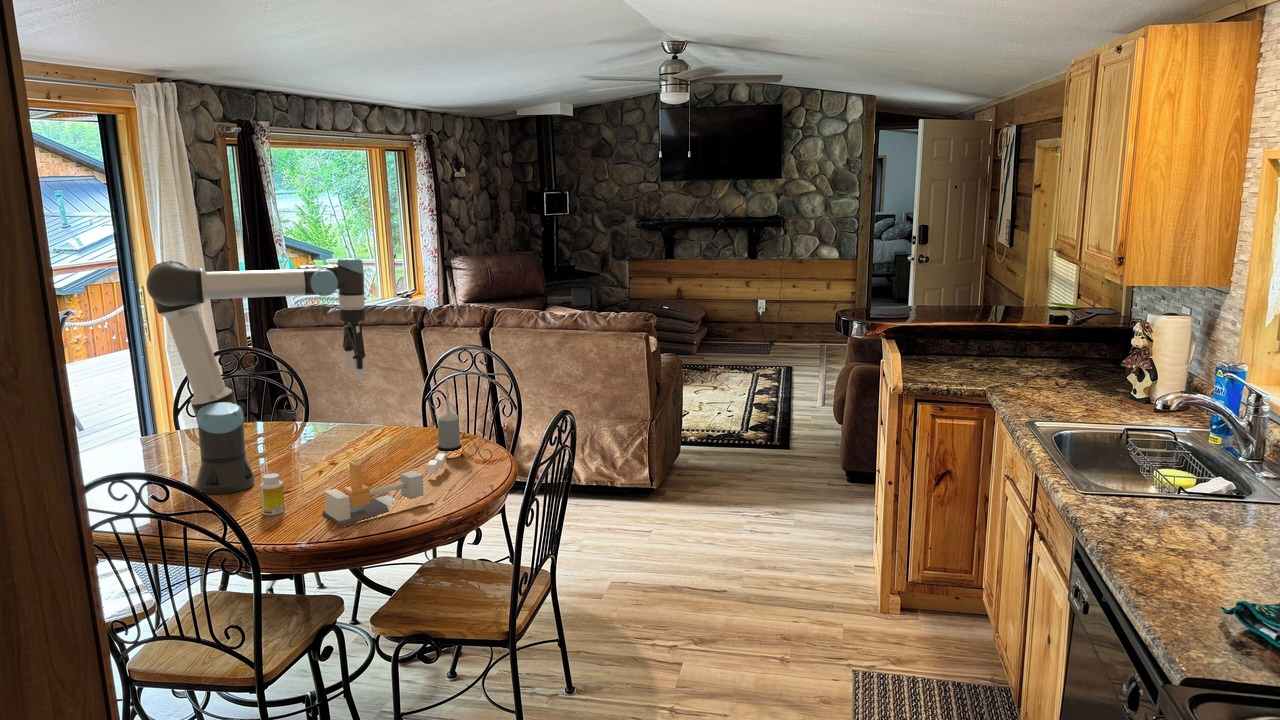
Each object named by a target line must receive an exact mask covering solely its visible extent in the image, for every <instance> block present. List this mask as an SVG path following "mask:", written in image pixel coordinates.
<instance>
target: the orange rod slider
mask: <svg viewBox="0 0 1280 720" xmlns="http://www.w3.org/2000/svg"><path fill="white" fill-rule="evenodd" d="M349 476H350V478H349V480H350V482H349V483H350V486H346V487H344V488H343V490H344V492H343V493H344V494H346V495H350V501H349V502H350V505H351V507H352V508H353V507H357V506H361V505H365V504H369V503H370V499H371V496H370V494H369V490H370V487H369V486H368V485H366V484H364V483H363V467H362V463H360V462H358V461H356V460H355V461H350V462H349Z"/></svg>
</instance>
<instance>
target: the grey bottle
mask: <svg viewBox="0 0 1280 720" xmlns="http://www.w3.org/2000/svg"><path fill="white" fill-rule="evenodd" d="M448 381H449V379H445V394H446V397H445V406H446V407H445V408H446V410H444V411H443V412H442V413H441V414H440V415H439V416H438V418H437V432H438V436H437V438H438V445H436V450H437V449H438V450H440V451H446V452H447V451H454V450H458V449H460V448H461V447H462V448H463V445H462V444H461V439H460V437H461V435H460V434H461V432H460V428H461V427H460V417H459V416H458V414H457V413H456V412H454V411H453V410H451V408H450V391H449V382H448ZM451 385H452V386H451V387H452V388H451V389H452V390H451V392H453V384H451ZM451 394H452V400H455V399H454V398H455V397H454V395H453V393H451Z"/></svg>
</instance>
